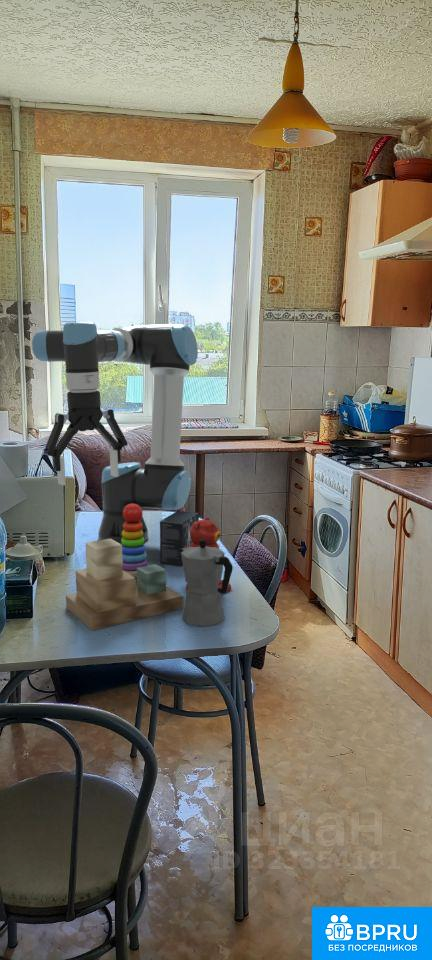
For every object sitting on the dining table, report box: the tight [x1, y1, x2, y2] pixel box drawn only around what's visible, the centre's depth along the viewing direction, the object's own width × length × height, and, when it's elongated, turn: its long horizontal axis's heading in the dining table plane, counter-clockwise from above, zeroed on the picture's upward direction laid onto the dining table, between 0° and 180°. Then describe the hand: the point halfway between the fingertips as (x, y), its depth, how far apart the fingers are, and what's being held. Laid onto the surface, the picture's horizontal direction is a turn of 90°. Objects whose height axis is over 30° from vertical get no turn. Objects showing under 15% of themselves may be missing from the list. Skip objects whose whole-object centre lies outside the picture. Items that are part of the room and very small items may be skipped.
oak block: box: [85, 538, 123, 581], centre depth 153 cm, size 6×6×7 cm
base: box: [65, 563, 184, 631], centre depth 157 cm, size 22×15×9 cm
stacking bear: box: [184, 517, 232, 593], centre depth 167 cm, size 11×10×18 cm
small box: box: [159, 510, 200, 567], centre depth 193 cm, size 13×7×12 cm, turn 161°
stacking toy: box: [121, 504, 148, 579], centre depth 179 cm, size 8×8×19 cm
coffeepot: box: [181, 539, 234, 627], centre depth 149 cm, size 15×9×18 cm, turn 43°
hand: (88, 480), depth 165 cm, fingers open, 13 cm apart
